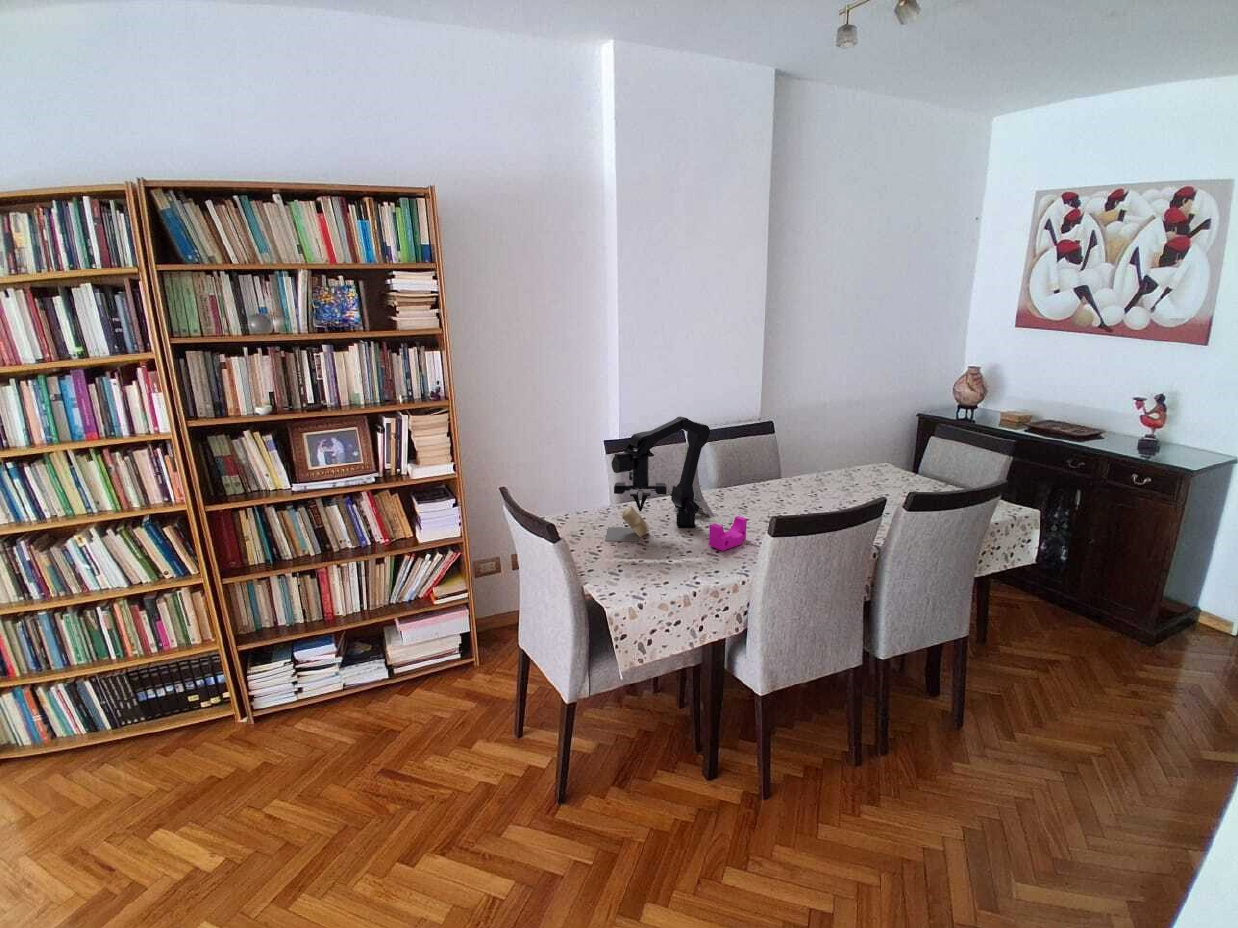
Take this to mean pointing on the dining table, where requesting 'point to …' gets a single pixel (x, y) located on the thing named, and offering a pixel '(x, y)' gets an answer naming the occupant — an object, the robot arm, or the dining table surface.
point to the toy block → (728, 534)
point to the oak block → (635, 521)
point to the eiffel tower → (699, 496)
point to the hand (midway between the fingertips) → (640, 511)
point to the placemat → (621, 534)
